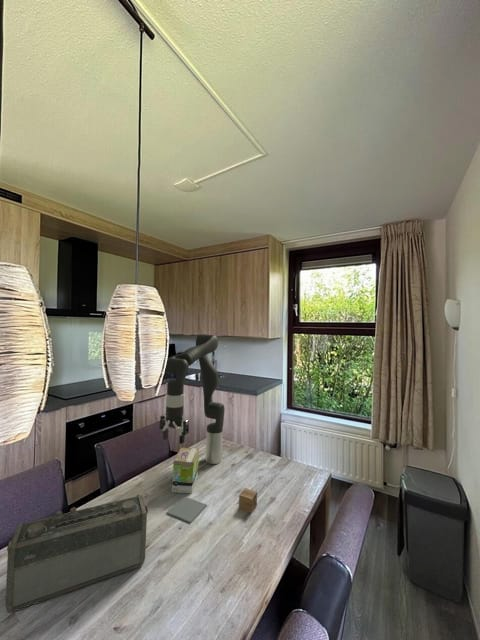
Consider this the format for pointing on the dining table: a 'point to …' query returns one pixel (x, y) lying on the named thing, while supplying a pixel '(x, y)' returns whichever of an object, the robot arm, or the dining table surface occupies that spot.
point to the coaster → (187, 509)
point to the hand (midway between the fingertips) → (173, 441)
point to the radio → (74, 550)
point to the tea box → (185, 470)
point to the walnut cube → (247, 500)
